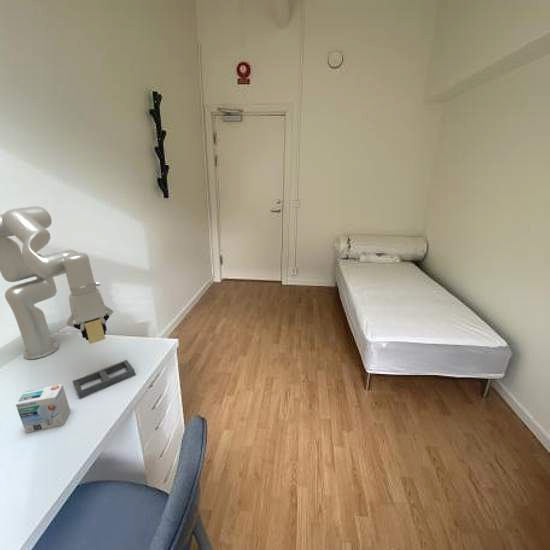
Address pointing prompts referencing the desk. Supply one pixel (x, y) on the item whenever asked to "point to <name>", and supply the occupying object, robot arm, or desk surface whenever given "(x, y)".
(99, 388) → the grey rectangular frame
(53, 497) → the desk surface
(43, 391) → the light bulb box
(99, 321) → the tan rectangular block
